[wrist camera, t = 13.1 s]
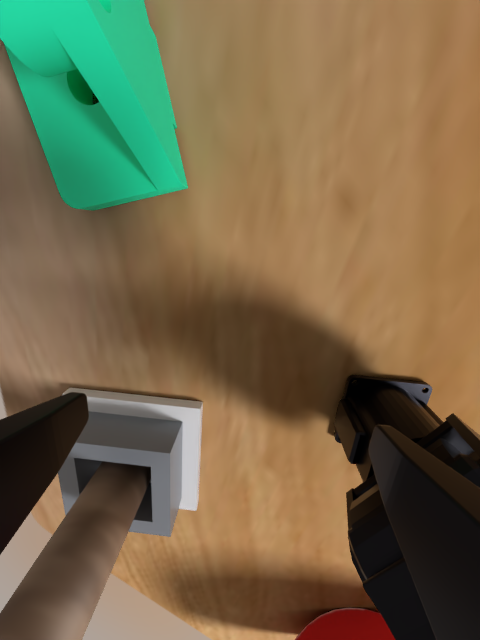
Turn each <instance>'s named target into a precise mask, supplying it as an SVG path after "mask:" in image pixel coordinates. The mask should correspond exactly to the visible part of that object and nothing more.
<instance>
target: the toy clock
mask: <svg viewBox="0 0 480 640" xmlns="http://www.w3.org/2000/svg"><path fill="white" fill-rule="evenodd" d="M295 640H395V638H394V636H393V635H392V633H391V631H390V629H389V627H388V626H387V624H386V622H385V620H384V619H383V617H382V615H381V613H377V612H374V611H370V610H367V609H360V608H343V609H336V610H332V611H330V612H327V613H325V614H323V615H320V616H319V617H317V618H316V619H315V620H313V621H312V622H311V623H309V624H308V625H307V626H306V627H305V628H304V629H303V630H302V632H301V633H300V634H299V635H298V636H297V637H296V639H295Z"/></svg>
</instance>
